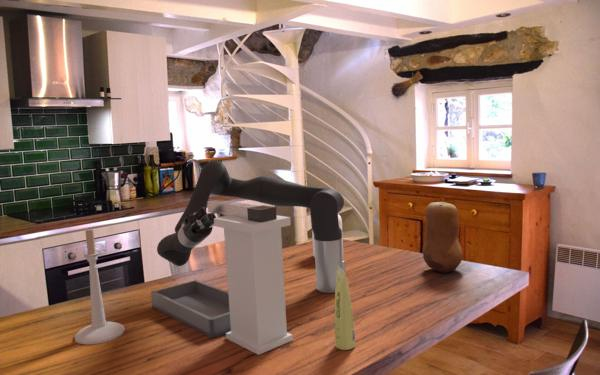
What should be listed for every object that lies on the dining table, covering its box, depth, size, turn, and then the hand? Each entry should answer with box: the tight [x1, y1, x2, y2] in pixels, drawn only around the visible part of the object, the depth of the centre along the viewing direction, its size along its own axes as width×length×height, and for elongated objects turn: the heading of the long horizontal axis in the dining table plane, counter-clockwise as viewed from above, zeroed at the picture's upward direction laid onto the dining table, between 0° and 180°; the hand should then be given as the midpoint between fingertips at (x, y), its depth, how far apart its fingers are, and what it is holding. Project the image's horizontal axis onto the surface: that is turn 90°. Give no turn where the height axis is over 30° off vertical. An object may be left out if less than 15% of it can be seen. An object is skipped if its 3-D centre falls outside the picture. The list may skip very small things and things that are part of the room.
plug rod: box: [207, 199, 277, 222], centre depth 130 cm, size 25×5×3 cm, turn 42°
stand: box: [213, 214, 294, 356], centre depth 128 cm, size 16×12×32 cm
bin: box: [150, 279, 231, 339], centre depth 150 cm, size 35×16×5 cm, turn 42°
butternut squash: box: [422, 201, 463, 274], centre depth 179 cm, size 14×13×25 cm
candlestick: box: [74, 227, 126, 345], centre depth 137 cm, size 13×13×30 cm
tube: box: [334, 266, 356, 351], centre depth 122 cm, size 6×5×20 cm
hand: (218, 208), depth 137 cm, fingers open, 8 cm apart
